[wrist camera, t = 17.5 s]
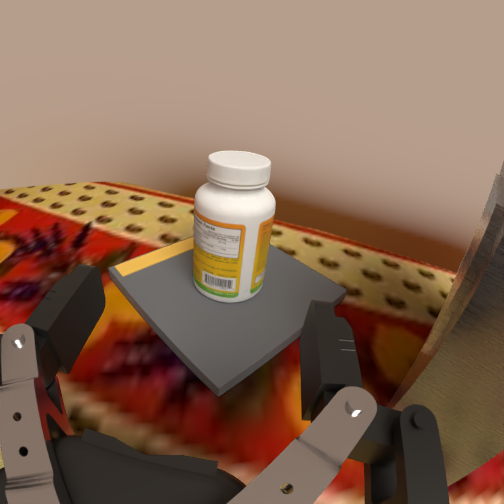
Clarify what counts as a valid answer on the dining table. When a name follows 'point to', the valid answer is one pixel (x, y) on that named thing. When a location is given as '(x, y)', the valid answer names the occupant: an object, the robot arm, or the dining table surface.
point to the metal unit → (467, 353)
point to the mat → (221, 311)
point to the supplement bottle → (232, 226)
